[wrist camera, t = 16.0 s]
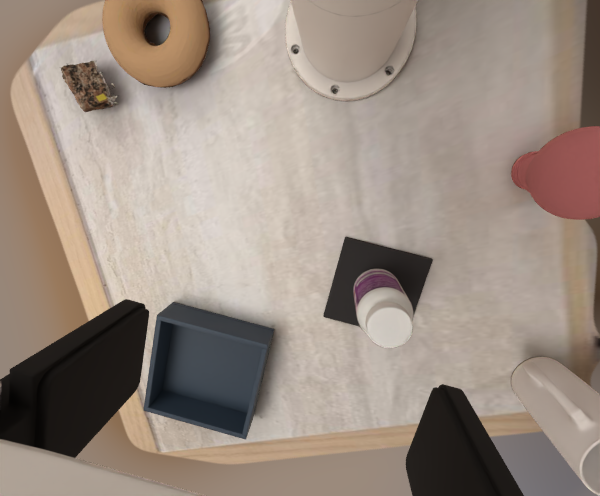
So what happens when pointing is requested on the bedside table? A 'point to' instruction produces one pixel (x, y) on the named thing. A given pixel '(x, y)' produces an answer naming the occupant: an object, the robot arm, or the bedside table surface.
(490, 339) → the bedside table surface
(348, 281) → the mat
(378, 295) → the pill bottle
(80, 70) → the rock
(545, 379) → the mug
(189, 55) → the donut
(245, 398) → the bin
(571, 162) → the light bulb
